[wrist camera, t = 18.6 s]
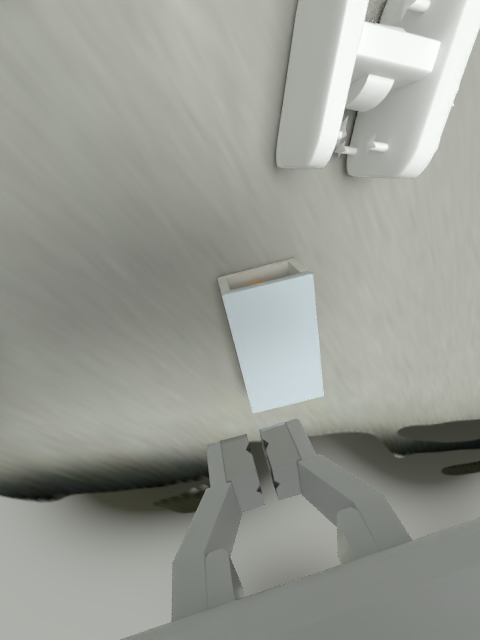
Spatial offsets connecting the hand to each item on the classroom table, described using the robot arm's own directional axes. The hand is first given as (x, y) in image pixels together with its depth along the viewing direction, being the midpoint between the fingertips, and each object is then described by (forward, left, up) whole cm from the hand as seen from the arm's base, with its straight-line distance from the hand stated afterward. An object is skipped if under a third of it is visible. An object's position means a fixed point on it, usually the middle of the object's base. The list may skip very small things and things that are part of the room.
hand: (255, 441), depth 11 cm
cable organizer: (+17, +13, -27) cm, 35 cm away
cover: (+6, -12, -22) cm, 25 cm away
